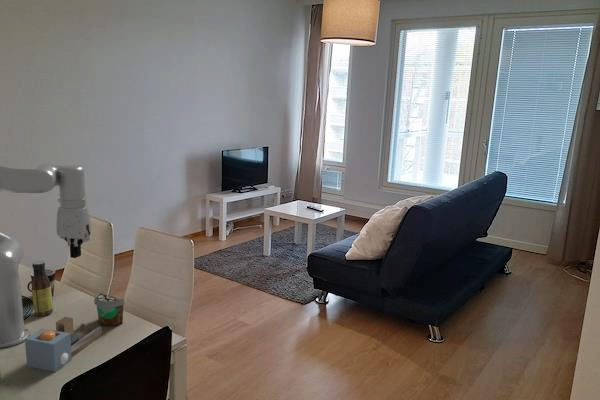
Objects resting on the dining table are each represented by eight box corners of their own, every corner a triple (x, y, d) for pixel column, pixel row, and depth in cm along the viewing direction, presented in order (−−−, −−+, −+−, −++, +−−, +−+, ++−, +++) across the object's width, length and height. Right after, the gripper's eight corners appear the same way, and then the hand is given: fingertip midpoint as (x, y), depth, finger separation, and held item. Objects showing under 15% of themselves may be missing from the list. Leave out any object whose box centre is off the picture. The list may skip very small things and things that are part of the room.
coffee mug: (50, 290, 199) (49, 267, 197) (60, 296, 194) (59, 272, 192) (20, 298, 190) (18, 274, 188) (29, 305, 185) (27, 280, 183)
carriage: (52, 349, 152) (50, 323, 150) (65, 340, 157) (64, 314, 155) (66, 352, 150) (64, 325, 149) (79, 343, 156) (77, 317, 154)
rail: (45, 355, 151) (45, 347, 150) (82, 331, 167) (81, 323, 167) (67, 360, 149) (67, 351, 149) (102, 334, 165) (102, 326, 165)
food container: (87, 322, 174) (86, 296, 171) (101, 316, 179) (100, 290, 177) (111, 331, 168) (110, 304, 166) (125, 324, 173) (124, 298, 171)
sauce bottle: (56, 310, 182) (53, 260, 177) (46, 317, 176) (43, 266, 171) (40, 308, 182) (36, 258, 178) (29, 316, 176) (25, 264, 172)
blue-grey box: (27, 366, 145) (24, 338, 143) (44, 354, 152) (42, 328, 150) (56, 372, 143) (54, 344, 141) (72, 360, 149) (71, 333, 148)
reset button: (38, 349, 145) (37, 335, 144) (47, 343, 149) (47, 329, 148) (49, 351, 144) (48, 337, 143) (59, 345, 148) (58, 331, 147)
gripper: (45, 203, 156) (48, 257, 160) (85, 208, 153) (87, 263, 156) (61, 198, 163) (64, 250, 167) (100, 203, 160) (102, 256, 164)
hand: (75, 256), depth 162 cm, fingers closed
